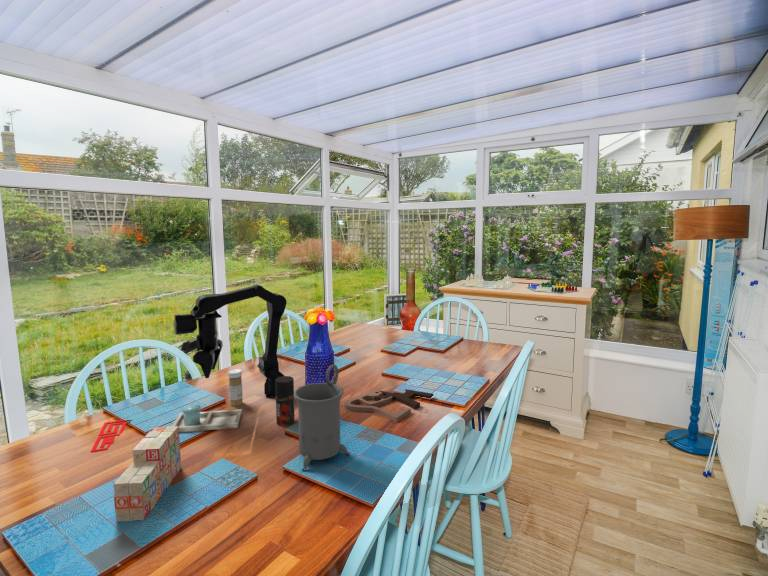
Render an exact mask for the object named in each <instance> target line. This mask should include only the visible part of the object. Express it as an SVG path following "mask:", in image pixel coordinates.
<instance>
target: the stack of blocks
mask: <svg viewBox="0 0 768 576" xmlns="http://www.w3.org/2000/svg"><path fill="white" fill-rule="evenodd" d="M181 458H182V457H181V442H180V432H179V427H178V426H172V425H171V426H154V427H153V429H151V430H150V431H149V432H148V433H146V435H145V436H144V437H143V438H142V439H141V440H140V442H138V444H137V445H136V446H134V448H133V449H132V459H133V460H132V461H133V462H132V463H131V464H130V465H129V466H128V468H126V469H125V471H123V472H122V474H120V476H119V478H117V479H116V480H115V482H114V483H113V494H114V497H113V501H114V512H115V522H130V521H129V520H140V521H145V520H146V518H148V515H149V514H150V512H151V511H153V509H154V507H156V505H157V503H158V502H159V500H160V499H161V498H160V497H162V496H163V494H164V493H165V492H166V490H167V489H168V487H169V486H170V484H172V482H173V481H174V478H176V476H177V475H178V473H179V472H180V471H181V469H182V459H181ZM166 488H167V489H166ZM161 495H162V496H161ZM159 498H160V499H159ZM157 501H158V502H157ZM155 504H156V505H155ZM144 519H145V520H144Z"/></svg>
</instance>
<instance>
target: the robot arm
mask: <svg viewBox="0 0 768 576" xmlns="http://www.w3.org/2000/svg"><path fill="white" fill-rule="evenodd" d="M255 297H258V298H260V299H261V300H263V301H265V302H266V310H267V315H268V321H267V327H266V328H267V331H266V337H265V338H266V339H265V340H266V341H265V346H264V347H265V349H264V353H263V355H262V356H258V364H257V368H258V369H259V373H261V374H262V375H263V376H264V377H265V381H264V387H263V388H264V395H265V398H266V399H267V398H268V399H269V398H276V389H275V379H276V378H278V377H282V376H285V375H284V373H282V372H281V371H280V366H279V364H280V363H279V359H278V353H277V352H278V348H279V347H278V344H279V336H280V330H281V329H280V326H281V319H282V316H283V314H284V313H285V311H286V307H287V299H286V297H285V296H284V295H282V294H280V293H276V292H271V291H269V290H267V288H265V287H263V286H262V285H260V284H254V285H251V286H247V287H242V288H238V289H235V290H232V291H228V292H223V293H210V294H209V293H208V294H200V295H199V296H198V297H197V298H196V299H195V304H194V306H193V308H192V309H191V311H190V312H189V313H185V314H179V313H178V314H174V320H173V330H174V335H175V336H177V335H180V336H181V335H186V334H194V333H195V331H197V330H198V335H196V338H192V339H190V340H187V341H184V342H183V343H182V344H181V346H180V348H181V351H182V352H183V353H184V355H185V354H188V353H189V352H192V351H195V350H196V352H195V353H194V354H193V355H192V362H193V363H195V365H196V364H197V365H199V366H200V368H201V370H202V373H203V376H204V378H205V379H209V378H210V376H211V372H212V370H215V369H216V365H217V363H218V360H219V357H220V355H221V352H222V348H223V341H222V340H221V339H217V337H218V331H217V325H216V323H217V322H216V320H217V319H220V318H222V315H221V314H220V313H219V312H218V311H217V310H219V309H221V308H223V307H224V306H227V305H229V304H230V305H231V304H234V303H237V302H240V301H241V302H242V301H244V300H248V299H252V298H253V299H254V298H255Z"/></svg>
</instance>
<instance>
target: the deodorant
mask: <svg viewBox="0 0 768 576" xmlns="http://www.w3.org/2000/svg"><path fill="white" fill-rule="evenodd" d="M294 382H295V380H294V377H293V376H290V375H284V376H282V377H278V378H276V379H275V389H276V397H275V414H276V419H275V420H276V424H277V426H280V427H288V426H292V425H294V424H295V421H296V420H295V415H296V414H295V397H294V392H295V383H294Z"/></svg>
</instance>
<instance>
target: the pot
mask: <svg viewBox="0 0 768 576" xmlns="http://www.w3.org/2000/svg"><path fill="white" fill-rule="evenodd" d="M181 410H182V412H183V413H184V426H193V425H199V424H200V412H201V405H200V404H198V403H197V404H196V403H193V404H187V405H185V406H183V407H182V408H181Z"/></svg>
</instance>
